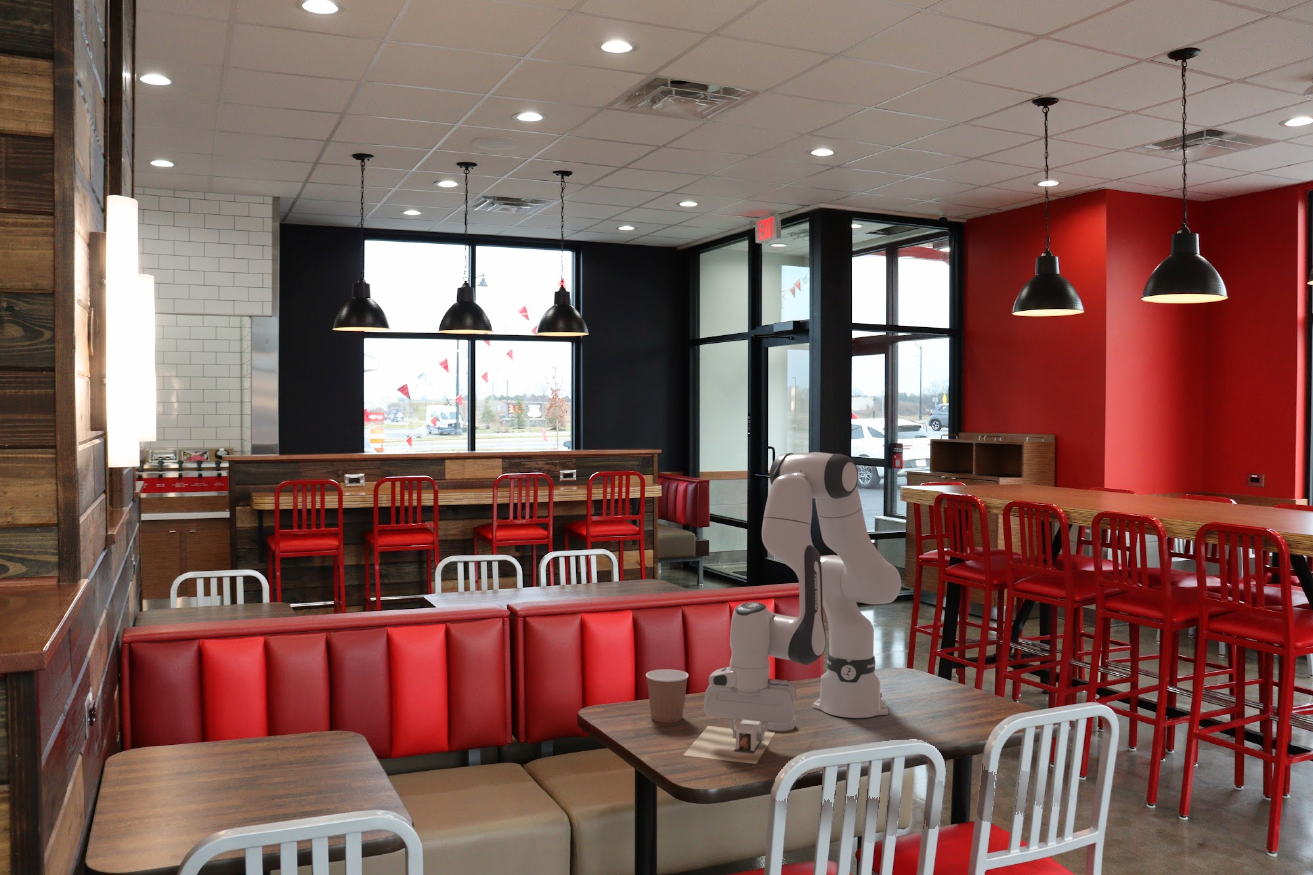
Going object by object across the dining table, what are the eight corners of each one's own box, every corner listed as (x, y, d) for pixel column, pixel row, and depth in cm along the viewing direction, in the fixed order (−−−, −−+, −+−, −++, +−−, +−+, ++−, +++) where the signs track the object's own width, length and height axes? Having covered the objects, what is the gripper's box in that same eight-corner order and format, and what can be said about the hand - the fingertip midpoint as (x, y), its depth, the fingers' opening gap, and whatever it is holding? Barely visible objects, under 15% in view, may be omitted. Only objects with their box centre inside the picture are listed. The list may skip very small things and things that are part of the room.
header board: (707, 732, 241) (708, 713, 241) (775, 739, 236) (775, 719, 236) (682, 762, 220) (683, 741, 220) (756, 770, 215) (756, 749, 215)
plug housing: (743, 737, 231) (743, 718, 231) (760, 739, 230) (761, 720, 230) (732, 753, 221) (733, 732, 221) (751, 755, 220) (751, 734, 219)
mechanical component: (755, 738, 238) (798, 741, 236) (755, 719, 238) (798, 722, 236) (758, 725, 247) (800, 728, 246) (759, 707, 247) (800, 710, 246)
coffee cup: (696, 725, 246) (697, 675, 246) (662, 733, 240) (663, 682, 239) (670, 715, 254) (670, 667, 254) (636, 722, 248) (637, 673, 248)
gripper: (798, 677, 227) (797, 739, 227) (708, 669, 232) (708, 730, 233) (793, 684, 220) (792, 748, 221) (701, 676, 226) (701, 738, 227)
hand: (748, 739), depth 227 cm, fingers closed on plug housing, 4 cm apart
